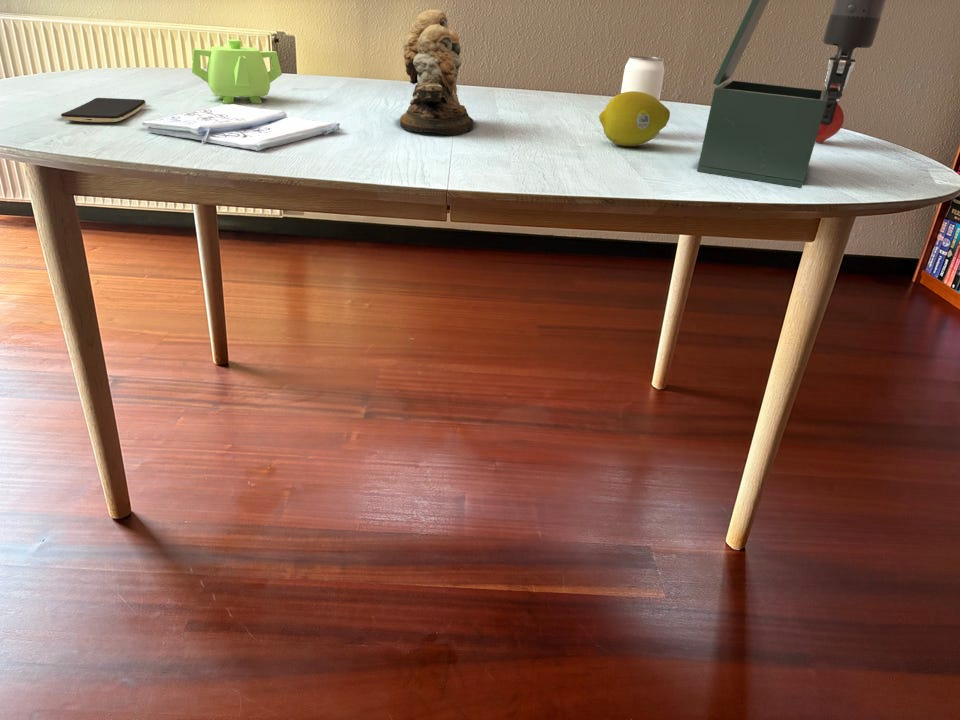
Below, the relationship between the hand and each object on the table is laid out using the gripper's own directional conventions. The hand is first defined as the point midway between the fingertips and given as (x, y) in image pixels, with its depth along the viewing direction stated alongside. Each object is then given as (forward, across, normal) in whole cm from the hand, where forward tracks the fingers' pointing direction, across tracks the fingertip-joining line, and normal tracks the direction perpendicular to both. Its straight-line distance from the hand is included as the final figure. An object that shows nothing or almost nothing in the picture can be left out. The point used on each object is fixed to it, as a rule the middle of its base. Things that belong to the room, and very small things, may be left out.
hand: (824, 121), depth 119 cm
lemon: (+4, -28, +27) cm, 39 cm away
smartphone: (+4, -64, +98) cm, 117 cm away
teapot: (+4, -39, +95) cm, 103 cm away
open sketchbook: (+4, -60, +75) cm, 96 cm away
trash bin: (+4, -32, +8) cm, 33 cm away
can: (+4, -17, +29) cm, 34 cm away
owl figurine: (+4, -36, +57) cm, 67 cm away
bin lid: (-15, -32, +13) cm, 37 cm away
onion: (+4, 0, 0) cm, 4 cm away
